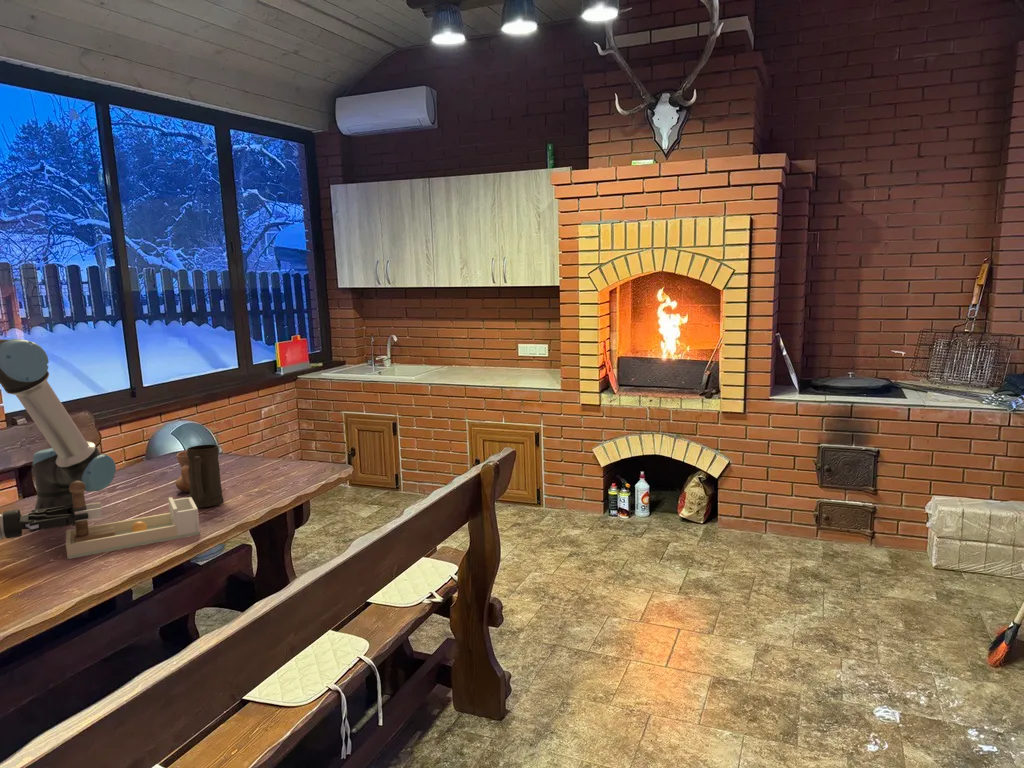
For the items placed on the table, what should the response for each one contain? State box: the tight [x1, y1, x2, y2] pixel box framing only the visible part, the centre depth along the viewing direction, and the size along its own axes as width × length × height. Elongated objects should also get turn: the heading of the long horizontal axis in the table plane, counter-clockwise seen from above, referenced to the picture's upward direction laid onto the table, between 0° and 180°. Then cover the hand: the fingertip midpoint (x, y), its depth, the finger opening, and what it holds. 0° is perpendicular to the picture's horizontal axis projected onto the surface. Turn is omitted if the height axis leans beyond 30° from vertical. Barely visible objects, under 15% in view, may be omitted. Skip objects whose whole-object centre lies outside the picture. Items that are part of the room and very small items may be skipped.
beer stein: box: [186, 444, 225, 508], centre depth 239 cm, size 15×11×20 cm
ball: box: [132, 521, 147, 532], centre depth 212 cm, size 4×4×4 cm
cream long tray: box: [65, 496, 201, 560], centre depth 211 cm, size 14×34×9 cm, turn 121°
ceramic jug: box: [175, 449, 190, 493], centre depth 258 cm, size 18×14×14 cm
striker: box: [69, 481, 115, 543], centre depth 205 cm, size 5×10×19 cm, turn 121°
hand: (101, 509), depth 206 cm, fingers open, 5 cm apart
